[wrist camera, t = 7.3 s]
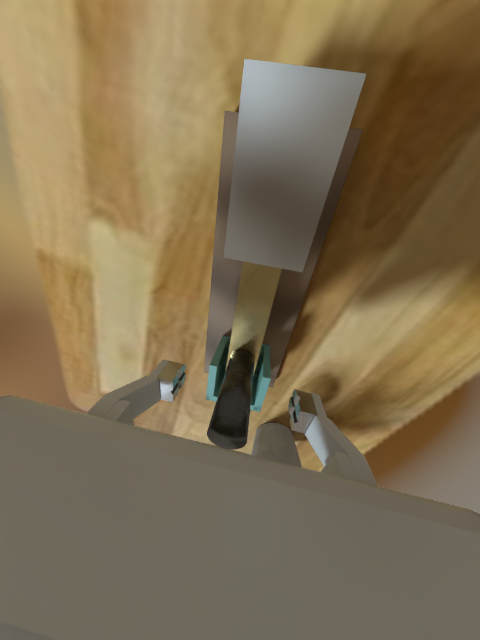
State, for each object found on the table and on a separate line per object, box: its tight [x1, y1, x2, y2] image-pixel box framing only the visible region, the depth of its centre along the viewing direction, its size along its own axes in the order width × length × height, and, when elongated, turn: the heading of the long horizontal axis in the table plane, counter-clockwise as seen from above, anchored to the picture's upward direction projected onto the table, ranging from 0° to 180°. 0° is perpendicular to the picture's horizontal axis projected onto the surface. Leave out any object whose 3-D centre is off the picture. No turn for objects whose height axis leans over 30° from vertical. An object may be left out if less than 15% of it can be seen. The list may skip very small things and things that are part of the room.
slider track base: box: [204, 59, 366, 388], centre depth 13 cm, size 21×8×5 cm, turn 171°
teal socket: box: [206, 336, 271, 412], centre depth 16 cm, size 4×5×4 cm
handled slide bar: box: [207, 261, 282, 449], centre depth 11 cm, size 12×2×8 cm, turn 171°
